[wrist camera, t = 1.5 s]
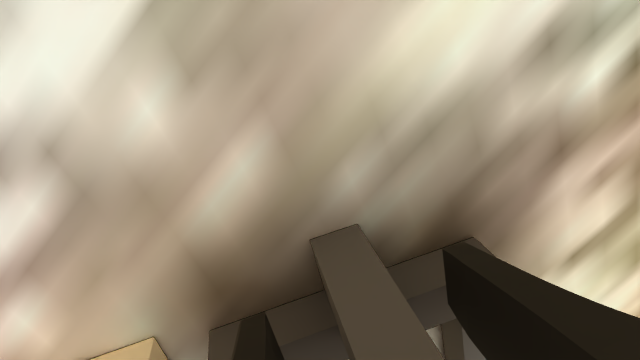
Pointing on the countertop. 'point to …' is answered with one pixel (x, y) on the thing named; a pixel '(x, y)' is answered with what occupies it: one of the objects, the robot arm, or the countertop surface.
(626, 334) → the robot arm
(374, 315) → the dark grey frame stand
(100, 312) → the countertop surface
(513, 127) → the countertop surface
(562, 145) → the countertop surface
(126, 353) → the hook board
